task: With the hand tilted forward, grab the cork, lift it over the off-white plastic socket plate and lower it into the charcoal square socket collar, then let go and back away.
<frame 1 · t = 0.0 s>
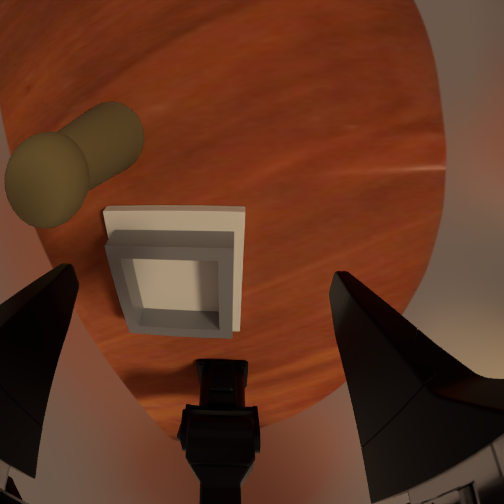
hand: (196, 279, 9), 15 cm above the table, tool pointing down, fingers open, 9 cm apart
cork: (110, 137, 20), on the table
socket: (178, 272, 28), on the table
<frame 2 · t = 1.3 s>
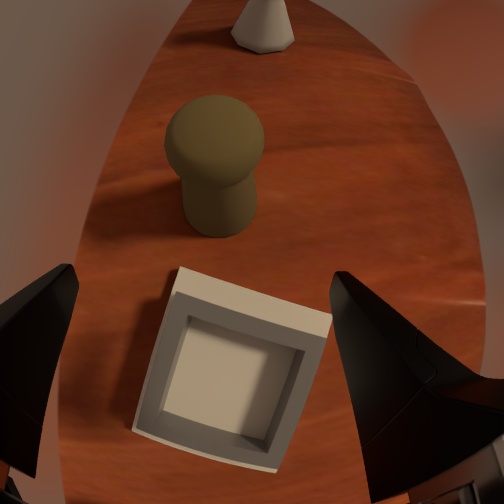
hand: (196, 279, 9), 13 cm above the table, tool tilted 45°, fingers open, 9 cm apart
cork: (220, 202, 24), on the table
socket: (228, 378, 21), on the table
flask: (262, 38, 28), on the table
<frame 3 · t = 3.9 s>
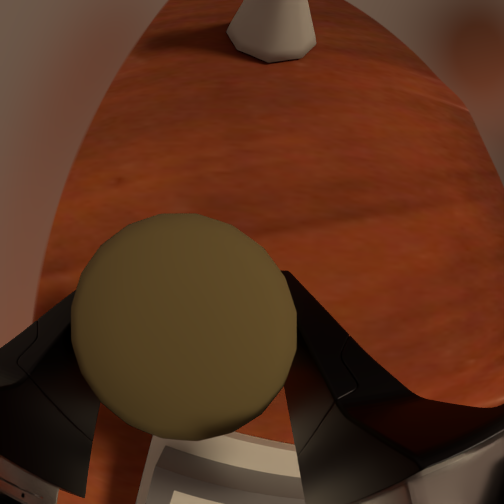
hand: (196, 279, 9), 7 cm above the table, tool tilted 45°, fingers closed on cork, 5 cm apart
cork: (210, 317, 16), on the table, touching gripper
flask: (270, 40, 20), on the table
when the fingers open (8 cm above the table, at t = 8.5 s): cork stays where it is, resting on socket.
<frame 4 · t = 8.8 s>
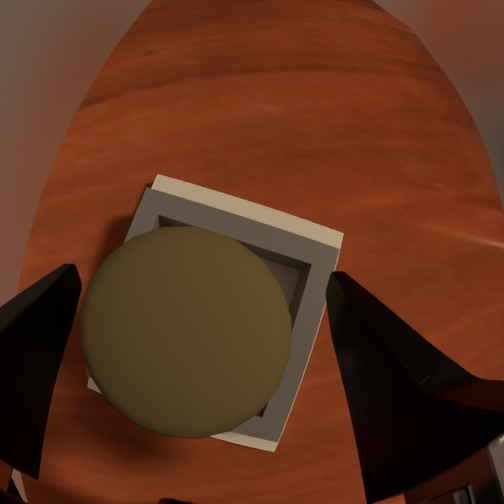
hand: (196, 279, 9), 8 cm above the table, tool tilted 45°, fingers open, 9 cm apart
cork: (210, 319, 16), point 1 cm above the table, touching socket
socket: (212, 316, 17), on the table
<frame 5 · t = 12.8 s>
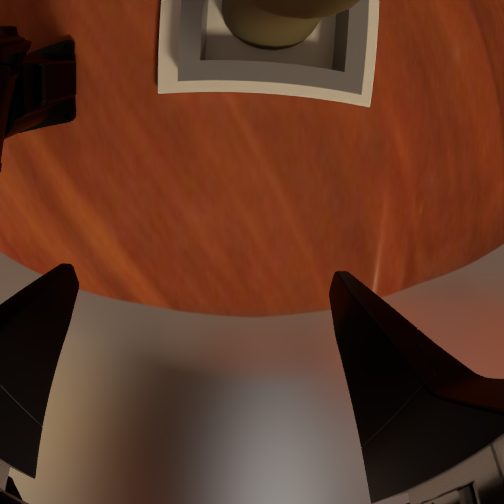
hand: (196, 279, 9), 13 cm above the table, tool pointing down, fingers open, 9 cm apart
cork: (270, 9, 13), point 1 cm above the table, touching socket
socket: (271, 11, 14), on the table
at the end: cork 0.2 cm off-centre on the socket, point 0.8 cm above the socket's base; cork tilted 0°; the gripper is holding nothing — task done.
